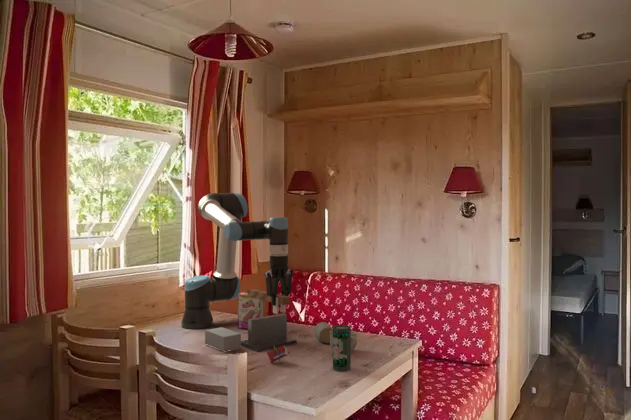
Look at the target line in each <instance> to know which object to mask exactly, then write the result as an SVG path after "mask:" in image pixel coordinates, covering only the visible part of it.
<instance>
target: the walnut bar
mask: <svg viewBox="0 0 631 420" xmlns="http://www.w3.org/2000/svg"><path fill="white" fill-rule="evenodd" d="M247 293H248V297H252V298H256V299H260V300H263V302H264V301H265V302H269V303H271V297H270V296H267V291H265V290H260V289H256V288H250V289H247ZM277 297H278V305H280V304H281V305H286V306H287V305H290V304H291V301H290V300H291V298H290V296H284V295H282V294H278V293H277Z"/></svg>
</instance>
